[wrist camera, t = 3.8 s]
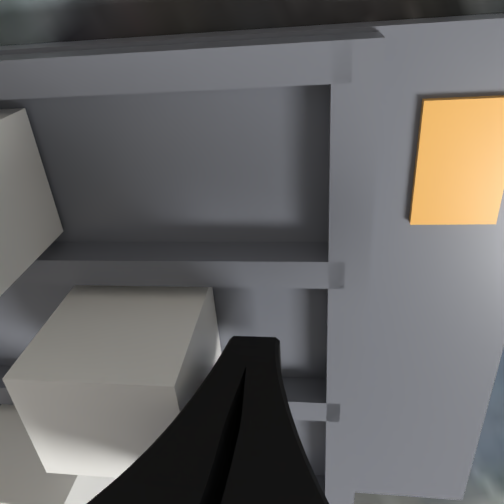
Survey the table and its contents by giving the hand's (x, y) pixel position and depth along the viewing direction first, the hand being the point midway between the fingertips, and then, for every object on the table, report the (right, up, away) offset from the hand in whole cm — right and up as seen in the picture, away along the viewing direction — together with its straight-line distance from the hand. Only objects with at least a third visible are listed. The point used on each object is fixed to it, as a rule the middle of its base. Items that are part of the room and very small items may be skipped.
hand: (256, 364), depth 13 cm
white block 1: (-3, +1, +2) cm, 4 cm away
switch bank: (-3, +1, +3) cm, 4 cm away
